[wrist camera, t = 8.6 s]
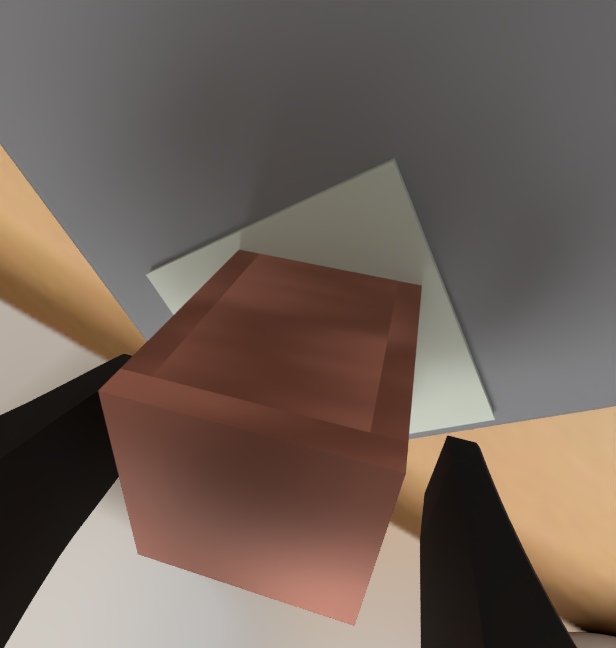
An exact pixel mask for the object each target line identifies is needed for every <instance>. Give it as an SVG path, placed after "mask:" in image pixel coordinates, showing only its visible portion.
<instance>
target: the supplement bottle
mask: <svg viewBox="0 0 616 648" xmlns="http://www.w3.org/2000/svg"><path fill="white" fill-rule="evenodd" d="M568 633H569V635H570V636H571V638H572V640H573V641H574V643H575V645H576V646H577V648H616V637H614V636H609V635H603V634H596V633H585V632H568Z"/></svg>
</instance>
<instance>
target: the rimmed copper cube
mask: <svg viewBox="0 0 616 648" xmlns="http://www.w3.org/2000/svg"><path fill="white" fill-rule="evenodd" d="M421 291H422V285H417V284H412V283H407V282H401V281H396V280H391V279H386V278H381V277H376V276H371V275H366V274H361V273H356V272H351V271H346V270H341V269H335V268H330V267H325V266H320V265H315V264H310V263H305V262H300V261H295V260H290V259H285V258H280V257H275V256H270V255H264V254H259V253H254V252H249V251H244V250H238V251H237V252H236V253H235V254H234V255H233V256H232V257H231V258H230V259H229V260H228V261H227V262H226V263H225V264H224V265H223V266H222V267H221V268H220V269H219V270H218V271H217V272H216V273H215V274H214V275H213V276H212V277H211V278H210V279H209V280H208V281H207V282H206V283H205V284H204V285H203V286H202V287H201V288H200V289H199V290H198V291H197V292H196V293H195V294H194V295H193V296H192V297H191V298H190V299H189V300H188V301H187V302H186V303H185V304H184V305H183V306H182V307H181V308H180V309H179V310H178V311H177V312H176V313H175V314H174V315H173V316H172V317H171V318H170V319H169V320H168V321H167V322H166V323H165V324H164V325H163V326H162V327H161V328H160V329H159V330H158V331H157V332H156V333H155V334H154V335H153V336H152V337H151V338H150V339H149V340H148V341H147V342H146V343H145V344H144V345H143V346H142V347H141V348H140V349H139V350H138V351H137V352H136V353H135V354H134V355H133V356H132V357H131V358H130V359H129V360H128V361H127V362H126V363H125V364H124V365H123V366H122V367H121V368H120V369H119V370H118V371H117V372H116V373H115V374H114V375H113V376H112V377H111V378H110V379H109V380H108V381H107V382H106V383H105V384H104V385H103V386H102V387H101V389H100V390H99V391H98V393H99V397H100V401H101V405H102V409H103V413H104V417H105V421H106V425H107V429H108V433H109V438H110V442H111V446H112V450H113V454H114V458H115V462H116V466H117V470H118V474H119V479H120V483H121V487H122V491H123V494H124V499H125V503H126V507H127V511H128V515H129V519H130V524H131V527H132V532H133V536H134V540H135V544H136V548H137V552H138V554H139V555H142V556H145V557H149V558H151V559H155V560H157V561H160V562H163V563H166V564H169V565H173V566H176V567H178V568H182V569H184V570H188V571H191V572H193V573H197V574H200V575H203V576H206V577H209V578H212V579H215V580H218V581H221V582H224V583H227V584H230V585H233V586H236V587H239V588H242V589H245V590H248V591H251V592H254V593H257V594H260V595H263V596H266V597H269V598H272V599H275V600H278V601H281V602H284V603H287V604H290V605H293V606H296V607H299V608H302V609H305V610H308V611H311V612H314V613H317V614H320V615H323V616H326V617H329V618H332V619H335V620H338V621H341V622H344V623H347V624H350V625H353V626H354V625H355V622H356V619H357V616H358V613H359V611H360V608H361V605H362V602H363V599H364V596H365V592H366V589H367V587H368V584H369V581H370V578H371V575H372V572H373V569H374V566H375V563H376V560H377V557H378V554H379V551H380V547H381V545H382V542H383V539H384V536H385V533H386V530H387V527H388V524H389V521H390V518H391V516H392V513H393V510H394V507H395V504H396V501H397V498H398V495H399V492H400V489H401V486H402V483H403V480H404V477H405V474H406V464H407V452H408V441H409V429H410V418H411V406H412V395H413V383H414V372H415V360H416V348H417V337H418V325H419V314H420V302H421Z"/></svg>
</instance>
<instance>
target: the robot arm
mask: <svg viewBox="0 0 616 648" xmlns="http://www.w3.org/2000/svg"><path fill="white" fill-rule="evenodd" d="M131 357H132V356H131V355H127V354H122V355H120V356H118V357H116V358H114V359H112V360H110V361H108V362H106V363H104V364H102V365H100V366H98V367H96V368H94V369H92V370H90V371H88V372H87V373H84V374H83V375H81V376H79V377H77V378H75V379H73V380H71V381H69V382H67V383H65V384H63V385H61V386H59V387H57V388H56V389H54V390H52V391H50V392H48V393H46V394H44V395H42V396H40V397H38V398H36V399H34V400H32V401H30V402H28V403H26V404H24V405H21V406H19V407H17V408H15V409H13V410H11V411H9V412H7V413H5V414H2V415H0V648H4V647H5V644H6V643H7V641H8V640H9V638H10V636H11V635H12V633H13V631H14V630H15V628H16V626H17V625H18V623H19V621H20V619H21V618H22V616H23V614H24V613H25V611H26V609H27V608H28V606H29V604H30V603H31V601H32V599H33V598H34V596H35V594H36V593H37V591H38V590H39V588H40V586H41V585H42V583H43V581H44V580H45V578H46V577H47V575H48V574H49V572H50V570H51V569H52V567H53V566H54V564H55V562H56V561H57V559H58V558H59V556H60V555H61V553H62V552H63V550H64V549H65V547H66V546H67V545H68V543H69V542H70V540H71V539H72V538H73V536H74V535H75V534H76V532H77V531H78V530H79V528H80V527H81V526H82V524H83V523H84V522H85V520H86V519H87V518H88V516H89V515H90V514H91V512H92V511H93V510H94V509H95V507H96V506H97V505H98V503H99V502H100V501H101V499H102V498H103V497H104V495H105V494H106V493H107V491H108V490H109V489H110V488H111V486H112V485H113V484H114V482H115V481H116V480H117V478H118V477H119V474H118V470H117V466H116V462H115V458H114V454H113V450H112V446H111V442H110V438H109V433H108V429H107V425H106V421H105V417H104V413H103V409H102V405H101V401H100V397H99V393H98V391H99V390H100V389H101V387H102V386H103V385H104V384H105V383H106V382H107V381H108V380H109V379H110V378H111V377H112V376H113V375H114V374H115V373H116V372H117V371H118V370H119V369H120V368H121V367H122V366H123V365H124V364H125V363H126V362H127V361H128V360H129V359H130V358H131ZM420 590H421V591H420V593H421V595H420V596H421V597H420V600H421V648H577V646H576V645H575V643H574V641H573V640H572V638H571V636H570V635H569V633H568V631H567V629H566V628H565V626H564V624H563V622H562V621H561V619H560V617H559V615H558V614H557V612H556V610H555V608H554V606H553V605H552V603H551V601H550V599H549V597H548V595H547V593H546V592H545V590H544V588H543V586H542V584H541V582H540V580H539V578H538V577H537V575H536V573H535V571H534V569H533V567H532V565H531V563H530V561H529V559H528V557H527V555H526V553H525V551H524V549H523V547H522V544H521V542H520V540H519V538H518V536H517V534H516V532H515V530H514V528H513V526H512V524H511V521H510V519H509V517H508V515H507V513H506V510H505V508H504V506H503V504H502V501H501V499H500V497H499V494H498V492H497V490H496V487H495V485H494V482H493V480H492V478H491V475H490V473H489V470H488V468H487V465H486V462H485V460H484V457H483V455H482V452H481V449H480V447H479V446H478V444H477V443H475V442H471V441H467V440H463V439H459V438H455V437H451V436H447V438H446V441H445V443H444V446H443V448H442V451H441V453H440V456H439V458H438V461H437V464H436V466H435V469H434V471H433V474H432V476H431V479H430V481H429V484H428V486H427V489H426V492H425V496H424V505H423V514H422V525H421V535H420Z"/></svg>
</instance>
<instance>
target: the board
mask: <svg viewBox="0 0 616 648" xmlns="http://www.w3.org/2000/svg"><path fill="white" fill-rule="evenodd" d="M0 144H1V146H2V147H3V148H4V150H5V151H6V152H7V154H8V155H9V156H10V158H11V159H12V160H13V162H14V163H15V164H16V166H17V167H18V168H19V170H20V171H21V173H22V174H23V175H24V177H25V178H26V179H27V181H28V182H29V183H30V185H31V186H32V187H33V189H34V190H35V191H36V193H37V194H38V195H39V197H40V198H41V199H42V201H43V202H44V203H45V205H46V206H47V208H48V209H49V210H50V212H51V213H52V214H53V216H54V217H55V218H56V220H57V221H58V222H59V224H60V225H61V226H62V228H63V229H64V230H65V232H66V233H67V234H68V236H69V237H70V239H71V240H72V241H73V243H74V244H75V245H76V247H77V248H78V249H79V251H80V252H81V253H82V255H83V256H84V257H85V259H86V260H87V261H88V263H89V264H90V265H91V267H92V268H93V270H94V271H95V272H96V274H97V275H98V276H99V278H100V279H101V280H102V282H103V283H104V284H105V286H106V287H107V288H108V290H109V291H110V292H111V294H112V295H113V296H114V298H115V299H116V300H117V302H118V303H119V305H120V306H121V307H122V309H123V310H124V311H125V313H126V314H127V315H128V317H129V318H130V319H131V321H132V322H133V323H134V325H135V326H136V327H137V329H138V330H139V331H140V333H141V334H142V336H143V337H144V338H145V340H146V341H148V340H149V339H150V338H151V337H152V336H153V335H154V334H155V333H156V332H157V331H158V330H159V329H160V328H161V327H162V326H163V325H164V324H165V323H166V322H167V321H168V320H169V319H170V318H171V317H172V316H173V315H174V314H175V313H176V312H177V311H178V310H179V309H180V308H181V307H182V306H183V305H184V304H185V303H186V302H187V301H188V300H189V299H190V298H191V297H192V296H193V295H194V294H195V293H196V292H197V291H198V290H199V289H200V288H201V287H202V286H203V285H204V284H205V283H206V282H207V281H208V280H209V279H210V278H211V277H212V276H213V275H214V274H215V273H216V272H217V271H218V270H219V269H220V268H221V267H222V266H223V265H224V264H225V263H226V262H227V261H228V260H229V259H230V258H231V257H232V256H233V255H234V254H235V253H236V252H237V251H238V250H244V251H249V252H254V253H259V254H264V255H270V256H275V257H280V258H285V259H290V260H295V261H300V262H305V263H310V264H315V265H320V266H325V267H330V268H335V269H341V270H346V271H351V272H356V273H361V274H366V275H371V276H376V277H381V278H386V279H391V280H396V281H401V282H407V283H412V284H417V285H422V291H421V302H420V314H419V325H418V337H417V348H416V360H415V372H414V383H413V395H412V406H411V418H410V429H409V439H413V438H419V437H425V436H431V435H438V434H444V433H450V432H456V431H463V430H469V429H475V428H482V427H488V426H494V425H500V424H507V423H513V422H519V421H525V420H532V419H538V418H544V417H551V416H557V415H563V414H569V413H576V412H582V411H588V410H595V409H601V408H607V407H613V406H616V0H0Z"/></svg>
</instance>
